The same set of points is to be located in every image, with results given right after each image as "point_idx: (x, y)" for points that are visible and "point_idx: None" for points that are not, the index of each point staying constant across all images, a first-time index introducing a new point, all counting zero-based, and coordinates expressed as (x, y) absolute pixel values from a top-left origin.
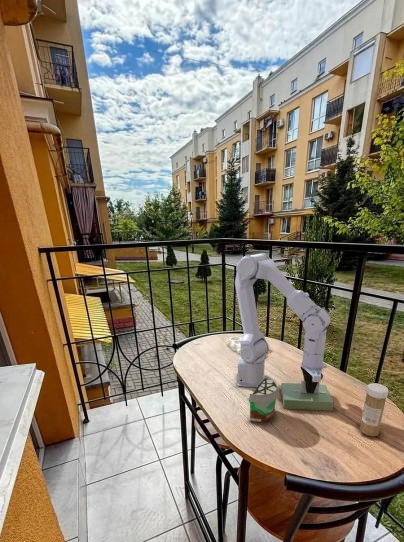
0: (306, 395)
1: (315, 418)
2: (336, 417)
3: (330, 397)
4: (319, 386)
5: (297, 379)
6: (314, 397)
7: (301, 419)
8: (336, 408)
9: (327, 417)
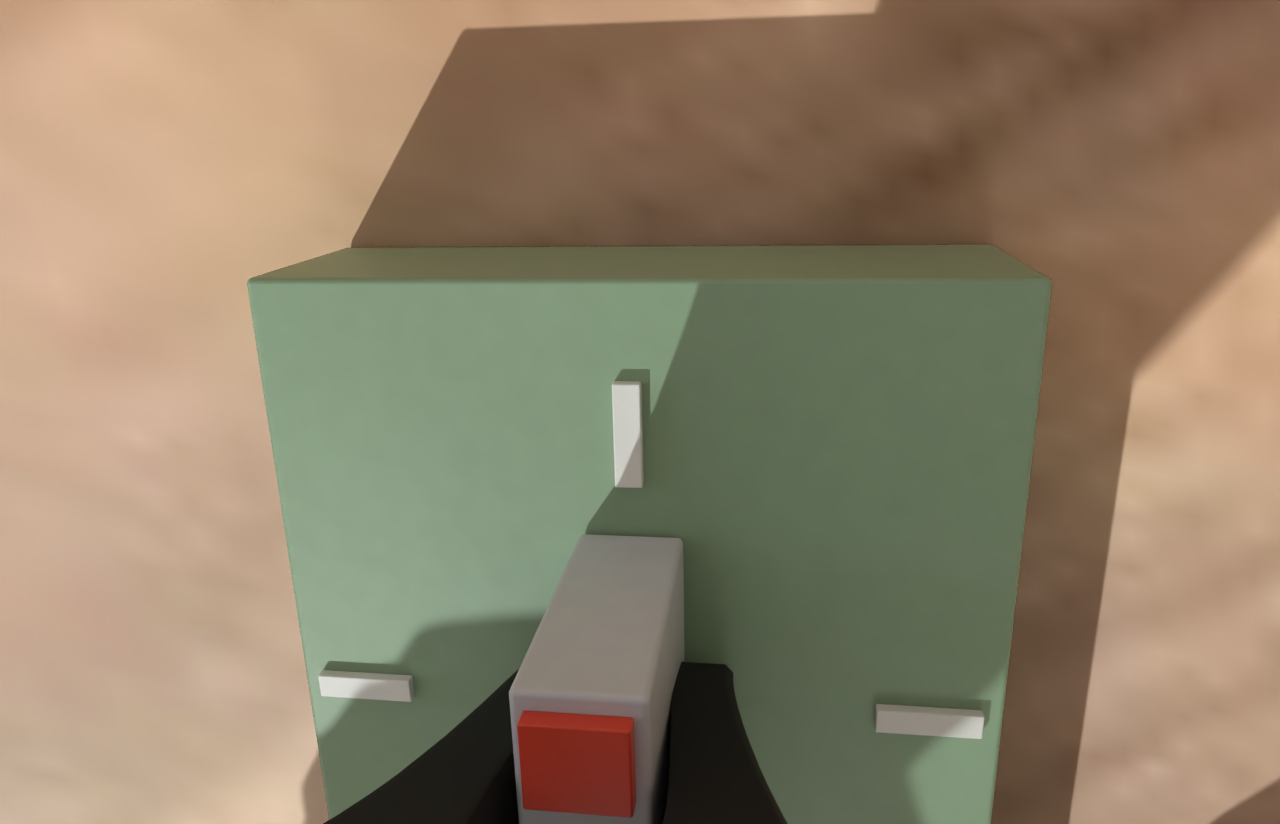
0: (778, 777)
1: (1225, 600)
2: (1212, 221)
3: (824, 305)
4: (359, 439)
5: (5, 626)
6: (850, 650)
7: (1242, 810)
8: (894, 141)
9: (1204, 391)
